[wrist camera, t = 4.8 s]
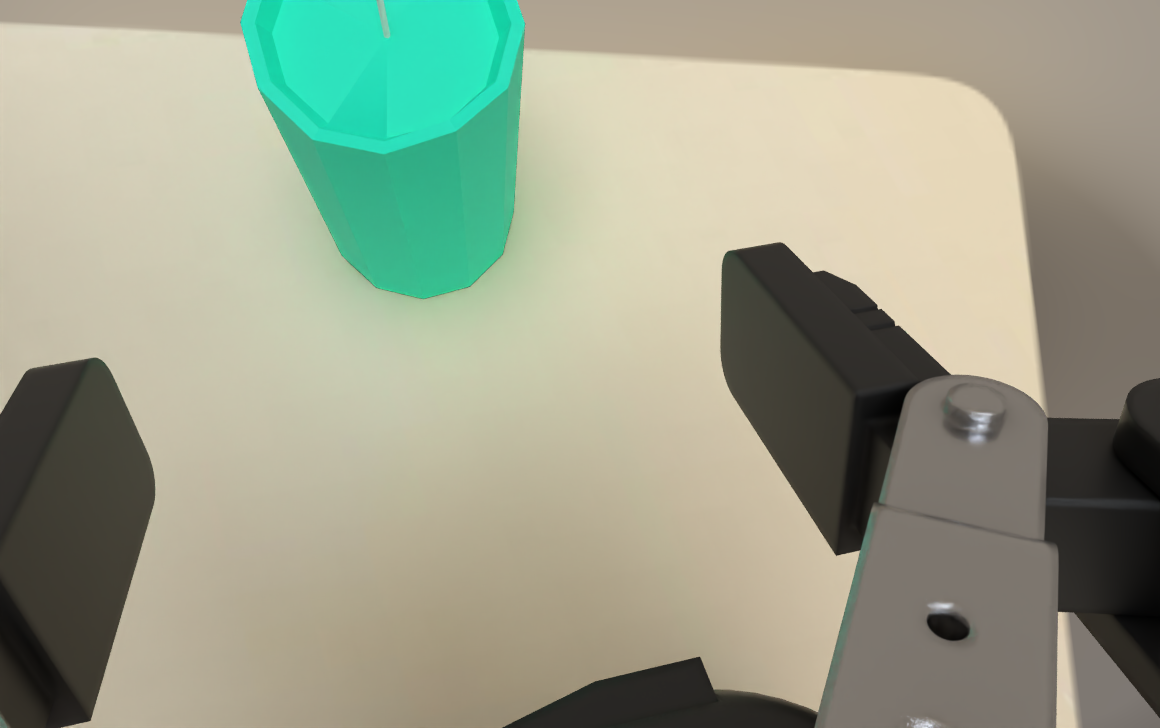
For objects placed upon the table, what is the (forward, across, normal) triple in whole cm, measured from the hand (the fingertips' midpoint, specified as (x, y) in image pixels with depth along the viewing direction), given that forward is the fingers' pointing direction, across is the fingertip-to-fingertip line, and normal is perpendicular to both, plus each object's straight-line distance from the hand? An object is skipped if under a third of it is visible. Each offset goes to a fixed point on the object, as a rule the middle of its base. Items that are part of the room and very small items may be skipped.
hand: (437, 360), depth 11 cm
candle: (+18, 0, +5) cm, 18 cm away
